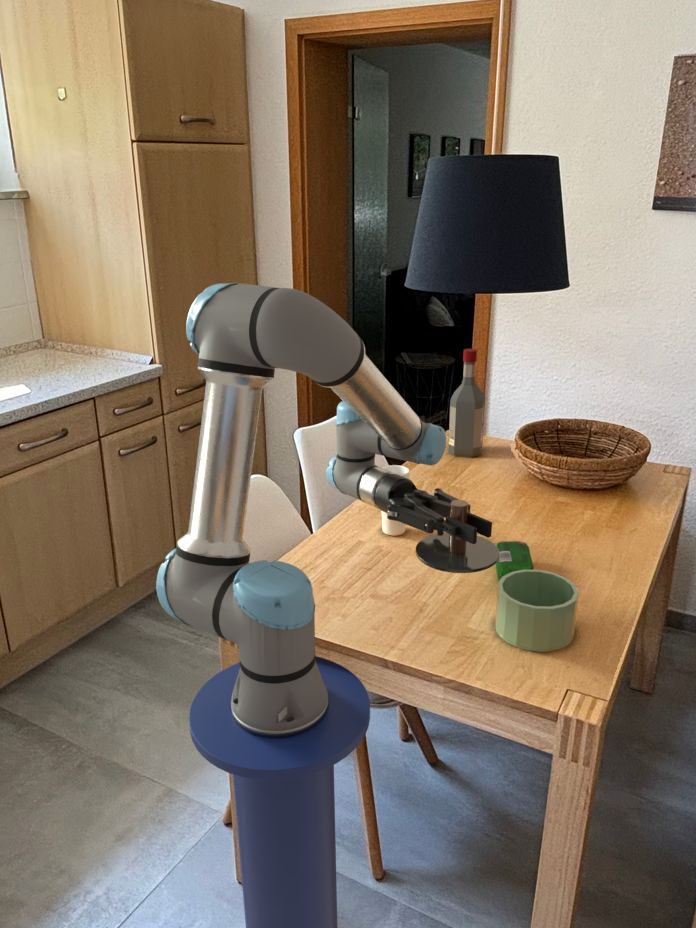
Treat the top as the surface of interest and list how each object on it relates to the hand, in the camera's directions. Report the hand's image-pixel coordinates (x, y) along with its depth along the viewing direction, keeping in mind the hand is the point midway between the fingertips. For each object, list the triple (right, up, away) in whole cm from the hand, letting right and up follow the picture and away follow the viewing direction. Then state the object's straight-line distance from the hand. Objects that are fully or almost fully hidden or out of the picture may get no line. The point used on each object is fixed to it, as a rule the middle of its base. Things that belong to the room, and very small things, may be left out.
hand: (482, 533), depth 129 cm
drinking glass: (-12, -3, +47) cm, 48 cm away
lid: (-3, -4, +6) cm, 8 cm away
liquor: (+11, +17, +96) cm, 98 cm away
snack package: (+11, -11, +27) cm, 31 cm away
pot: (+11, -18, +9) cm, 23 cm away
